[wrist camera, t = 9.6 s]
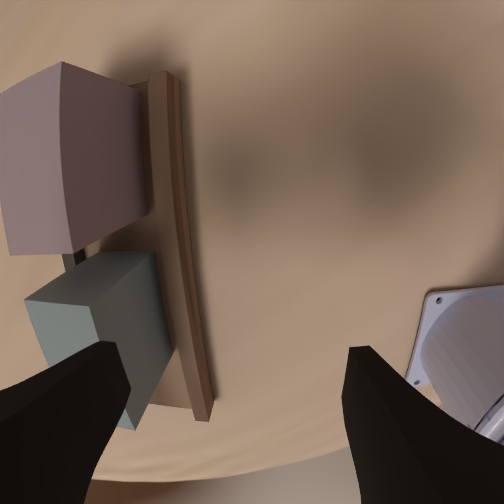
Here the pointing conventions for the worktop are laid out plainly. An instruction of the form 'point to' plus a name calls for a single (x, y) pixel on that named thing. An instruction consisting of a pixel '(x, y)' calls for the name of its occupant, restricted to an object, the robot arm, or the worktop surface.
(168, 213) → the shelf ledge
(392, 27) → the worktop surface
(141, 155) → the box
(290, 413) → the worktop surface
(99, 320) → the box
